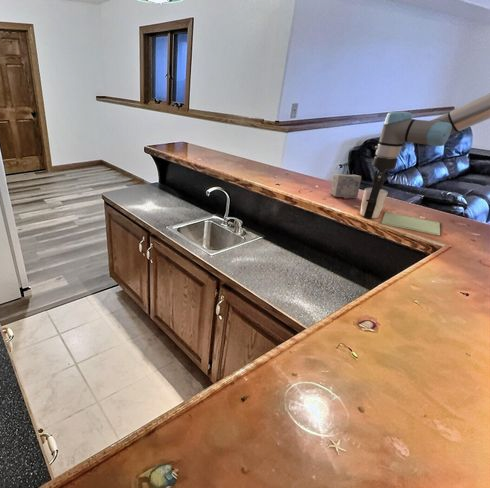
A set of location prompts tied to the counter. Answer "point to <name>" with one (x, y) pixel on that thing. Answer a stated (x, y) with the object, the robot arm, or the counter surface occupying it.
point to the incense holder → (345, 185)
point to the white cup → (379, 203)
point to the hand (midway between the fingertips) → (369, 214)
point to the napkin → (411, 223)
